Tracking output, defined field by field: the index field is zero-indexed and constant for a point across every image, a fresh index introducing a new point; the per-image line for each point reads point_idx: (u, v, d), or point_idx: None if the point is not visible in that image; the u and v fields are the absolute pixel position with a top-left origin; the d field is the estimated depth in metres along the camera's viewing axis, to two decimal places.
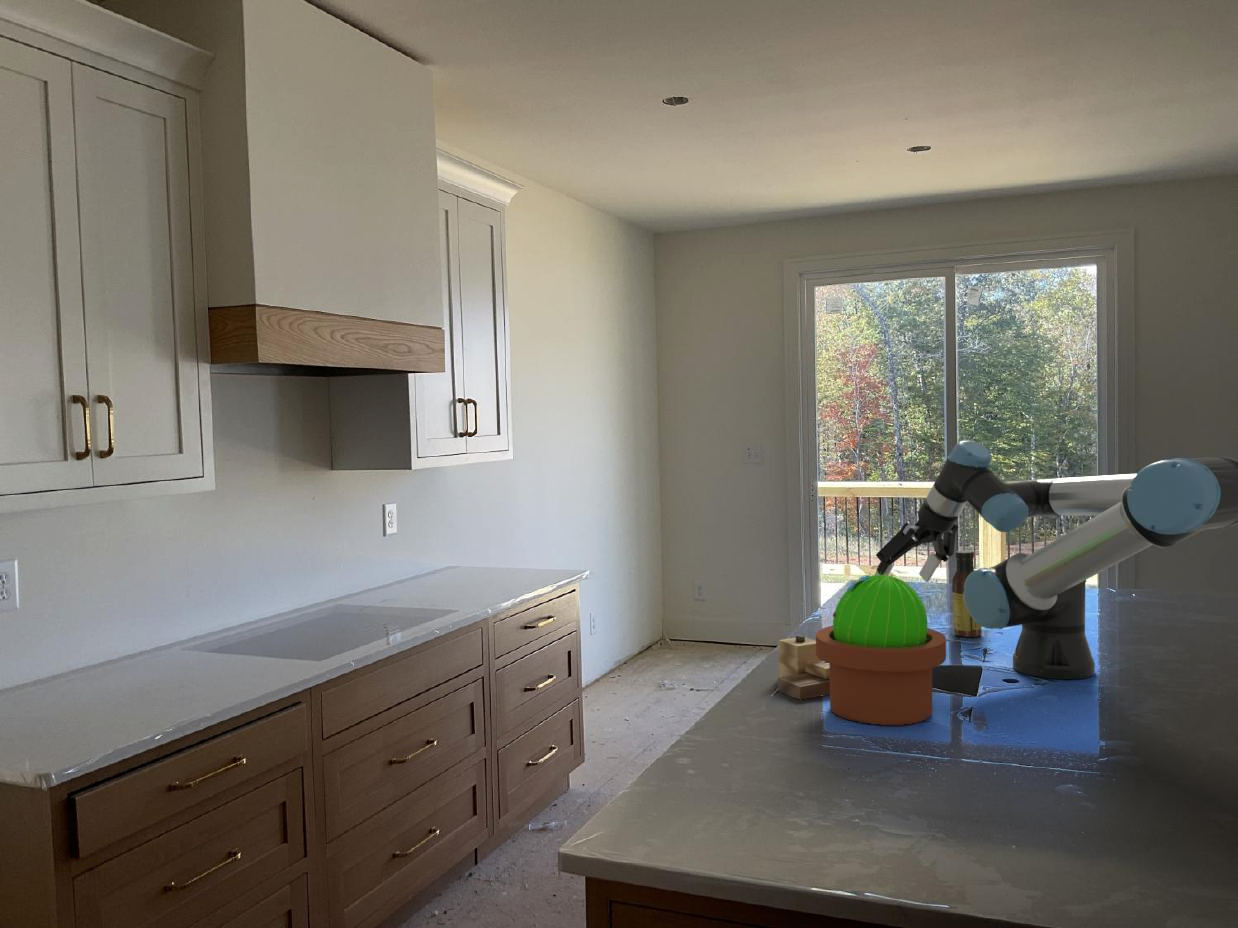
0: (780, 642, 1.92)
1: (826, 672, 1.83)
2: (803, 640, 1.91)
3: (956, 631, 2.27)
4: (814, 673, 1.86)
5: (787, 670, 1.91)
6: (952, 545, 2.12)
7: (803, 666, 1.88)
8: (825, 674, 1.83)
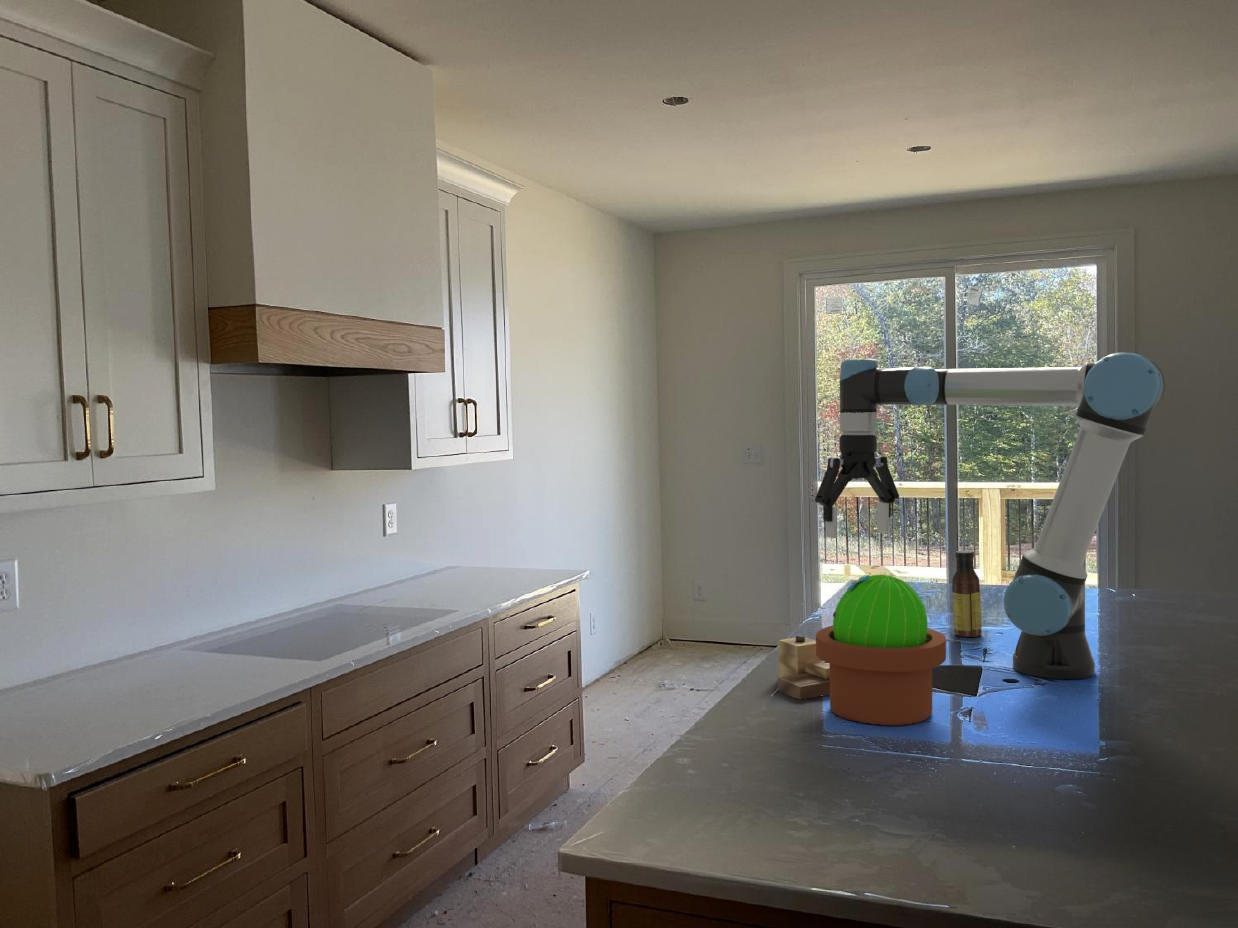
0: (780, 642, 1.92)
1: (826, 672, 1.83)
2: (803, 640, 1.91)
3: (956, 631, 2.27)
4: (814, 673, 1.86)
5: (787, 670, 1.91)
6: (892, 483, 2.05)
7: (803, 666, 1.88)
8: (825, 675, 1.83)
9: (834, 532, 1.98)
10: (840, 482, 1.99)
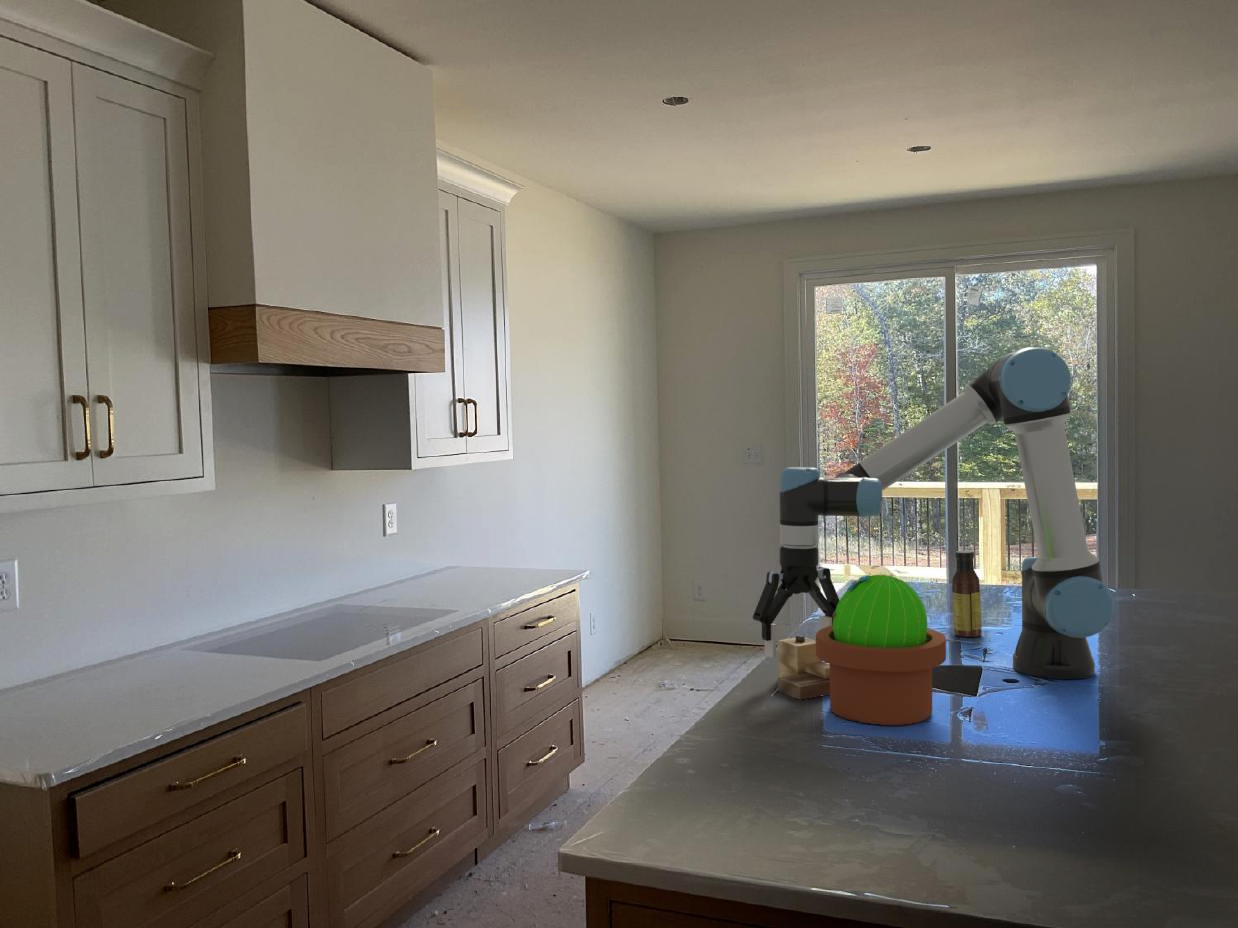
0: (780, 642, 1.92)
1: (826, 672, 1.83)
2: (803, 640, 1.91)
3: (956, 631, 2.27)
4: (814, 673, 1.86)
5: (787, 670, 1.91)
6: (835, 596, 1.94)
7: (803, 666, 1.88)
8: (825, 674, 1.83)
9: (773, 652, 1.87)
10: (779, 598, 1.88)
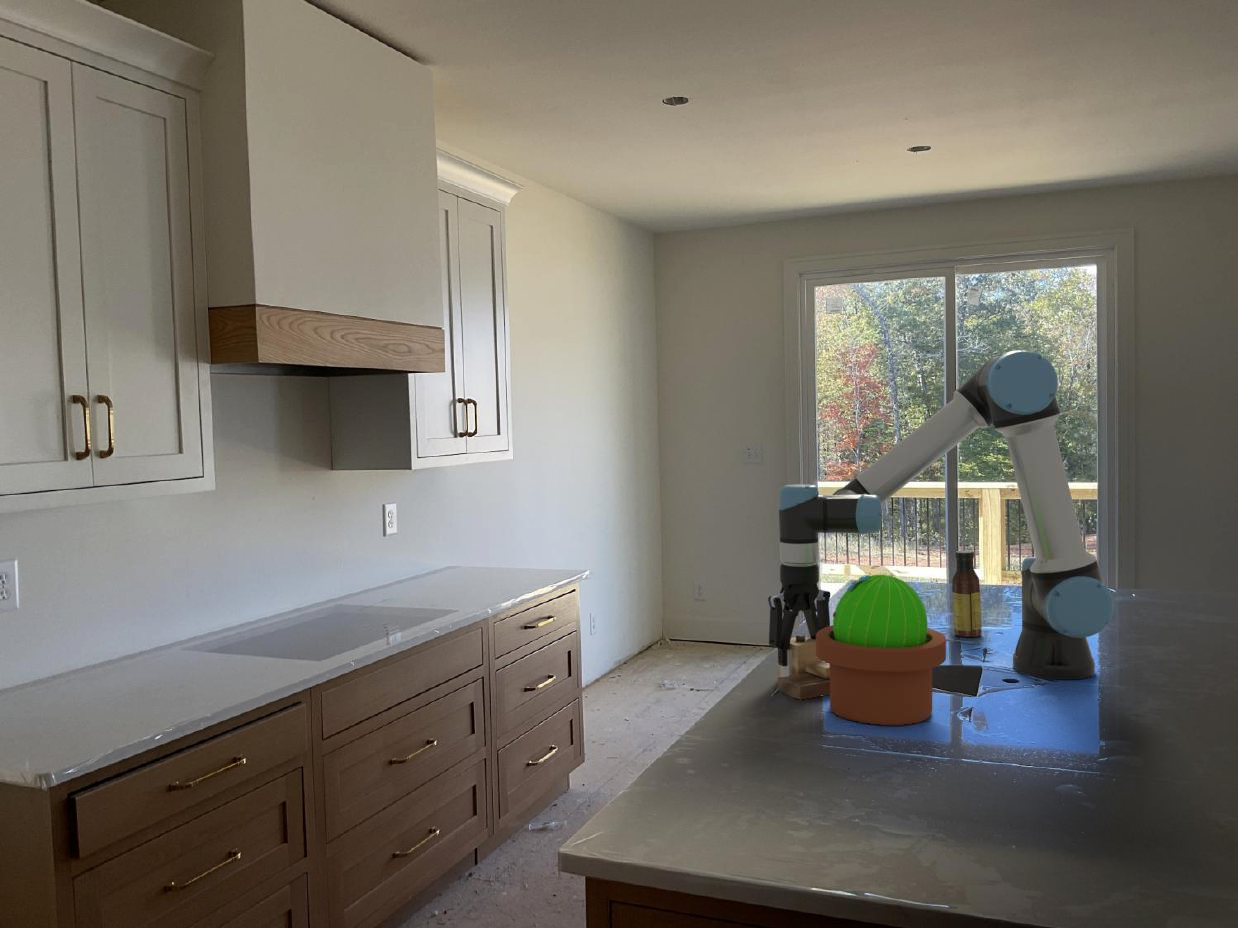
0: None
1: (826, 672, 1.83)
2: (803, 640, 1.91)
3: (956, 631, 2.27)
4: (814, 672, 1.86)
5: None
6: (827, 622, 1.93)
7: (803, 665, 1.88)
8: (825, 674, 1.83)
9: None
10: (787, 621, 1.89)
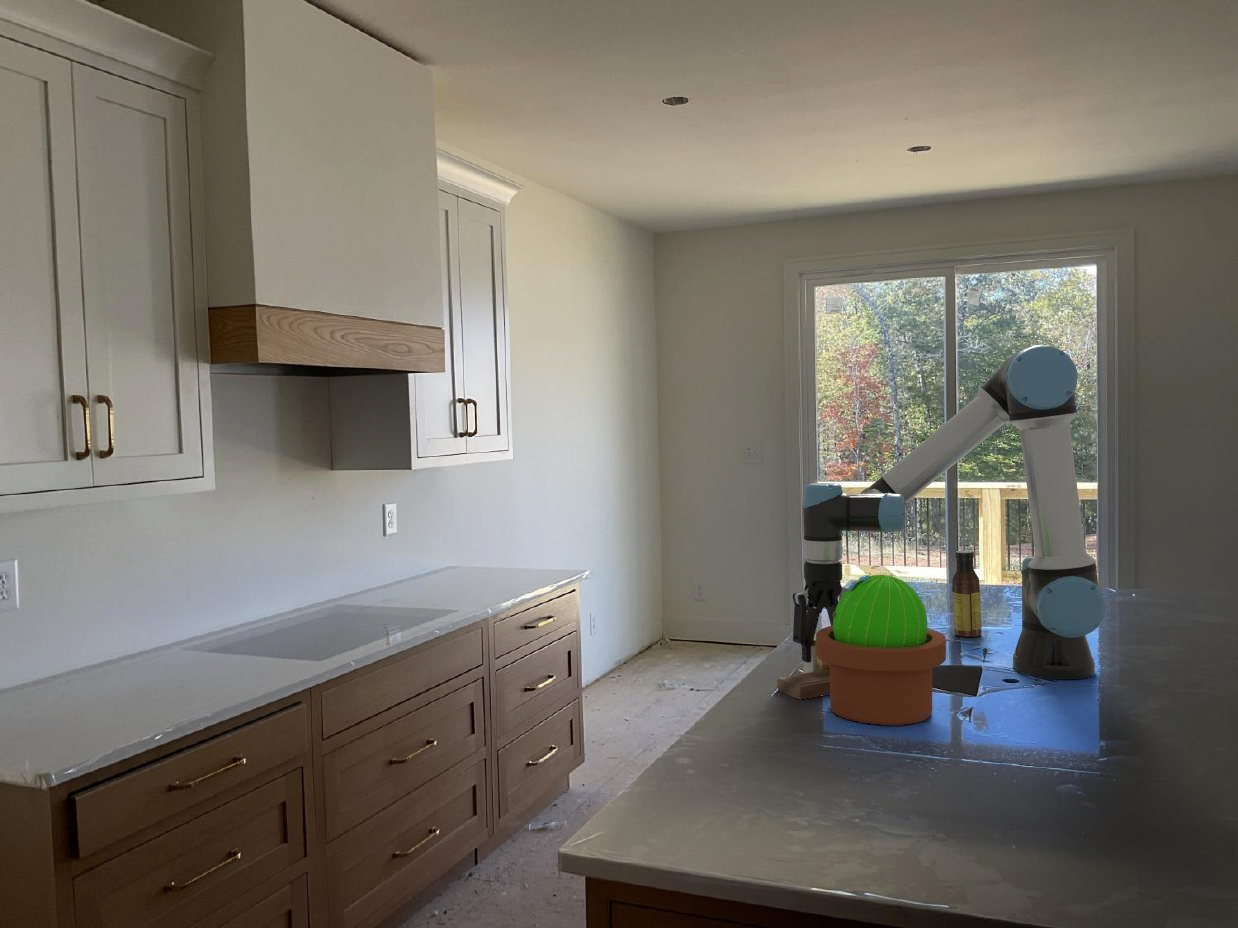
0: None
1: None
2: None
3: (956, 631, 2.27)
4: None
5: None
6: None
7: None
8: None
9: None
10: (811, 618, 1.92)
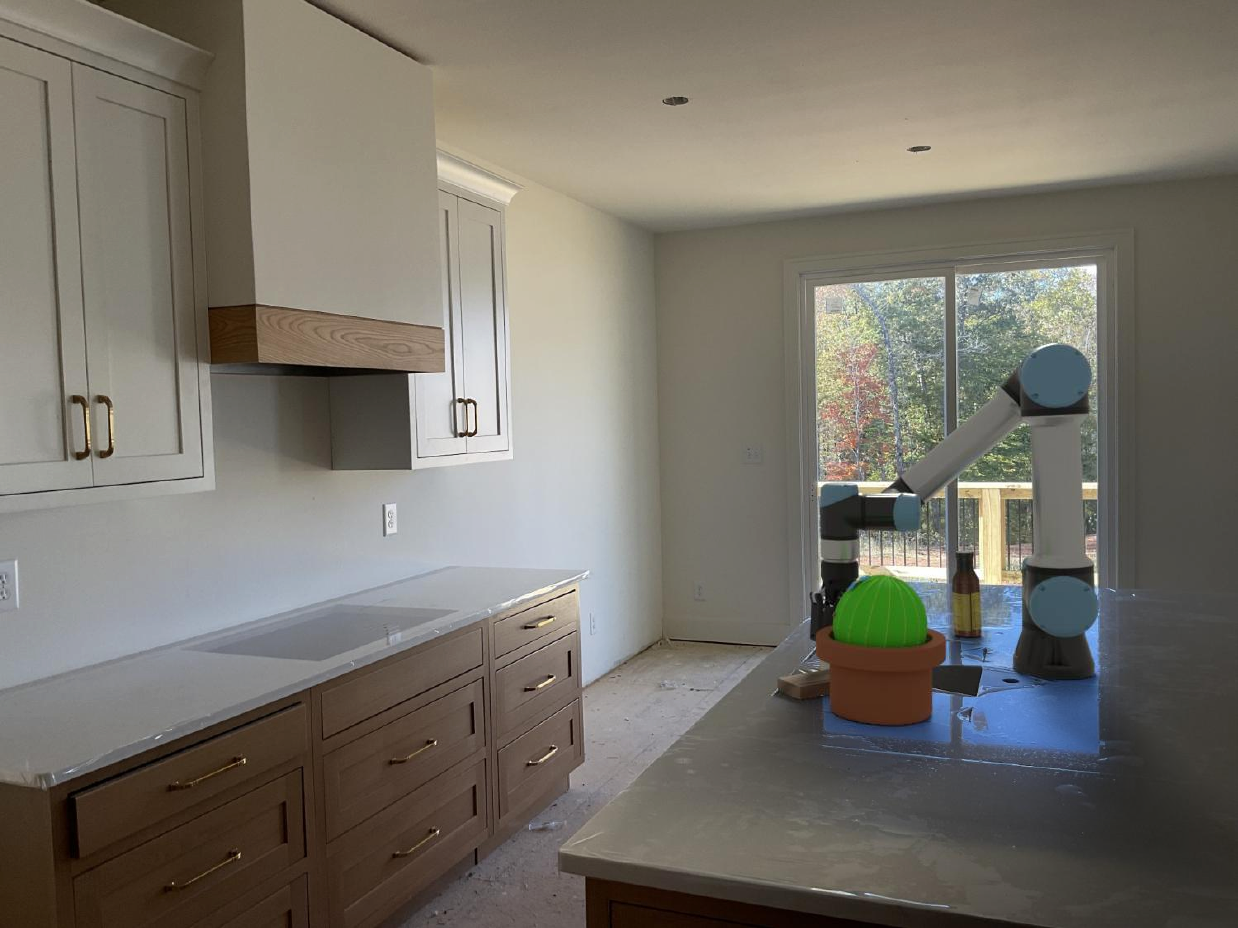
0: None
1: None
2: None
3: (956, 631, 2.27)
4: None
5: None
6: None
7: None
8: None
9: None
10: (828, 616, 1.94)
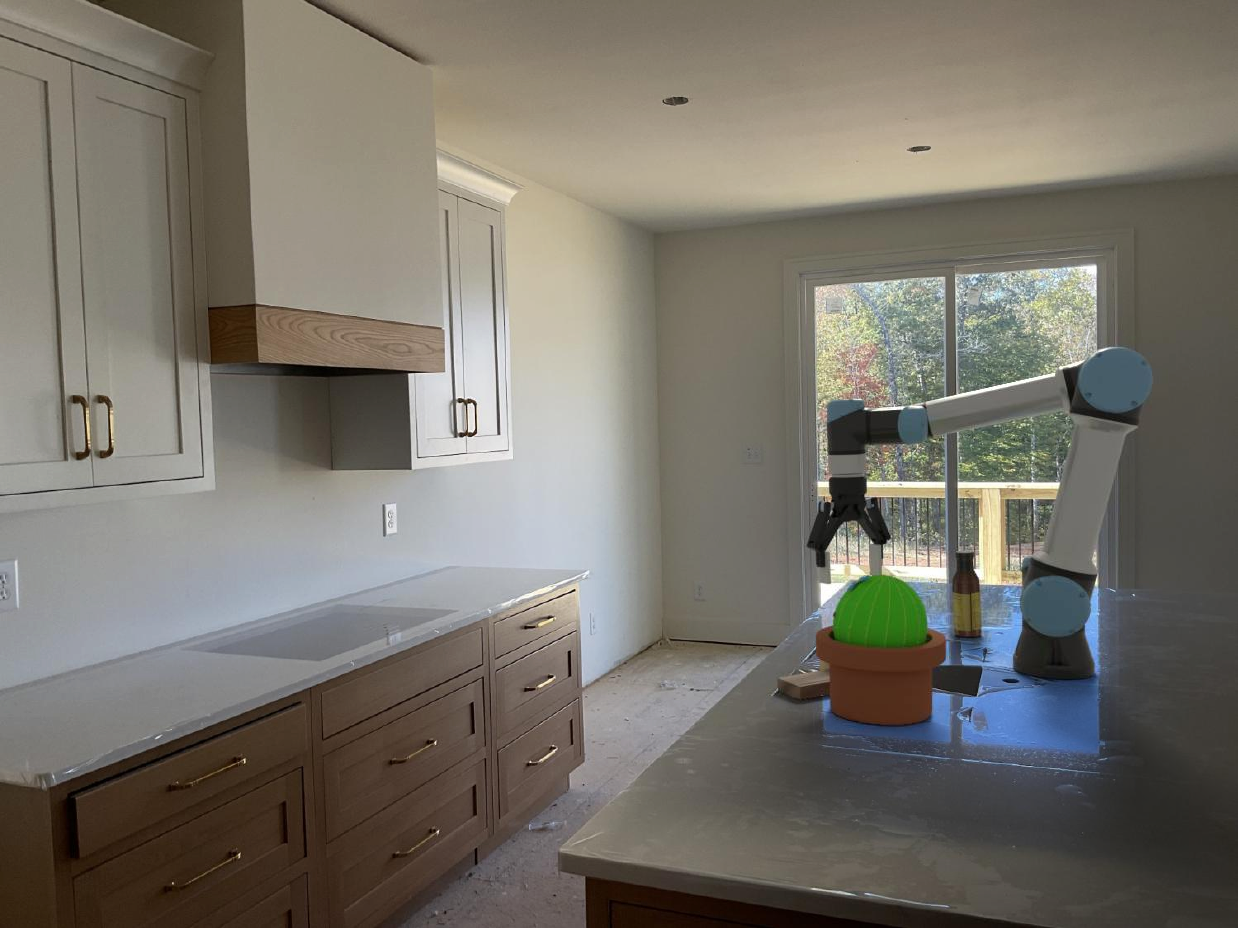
0: None
1: None
2: None
3: (956, 631, 2.27)
4: None
5: (828, 664, 1.95)
6: (883, 524, 2.00)
7: None
8: None
9: (828, 578, 1.93)
10: (832, 526, 1.94)
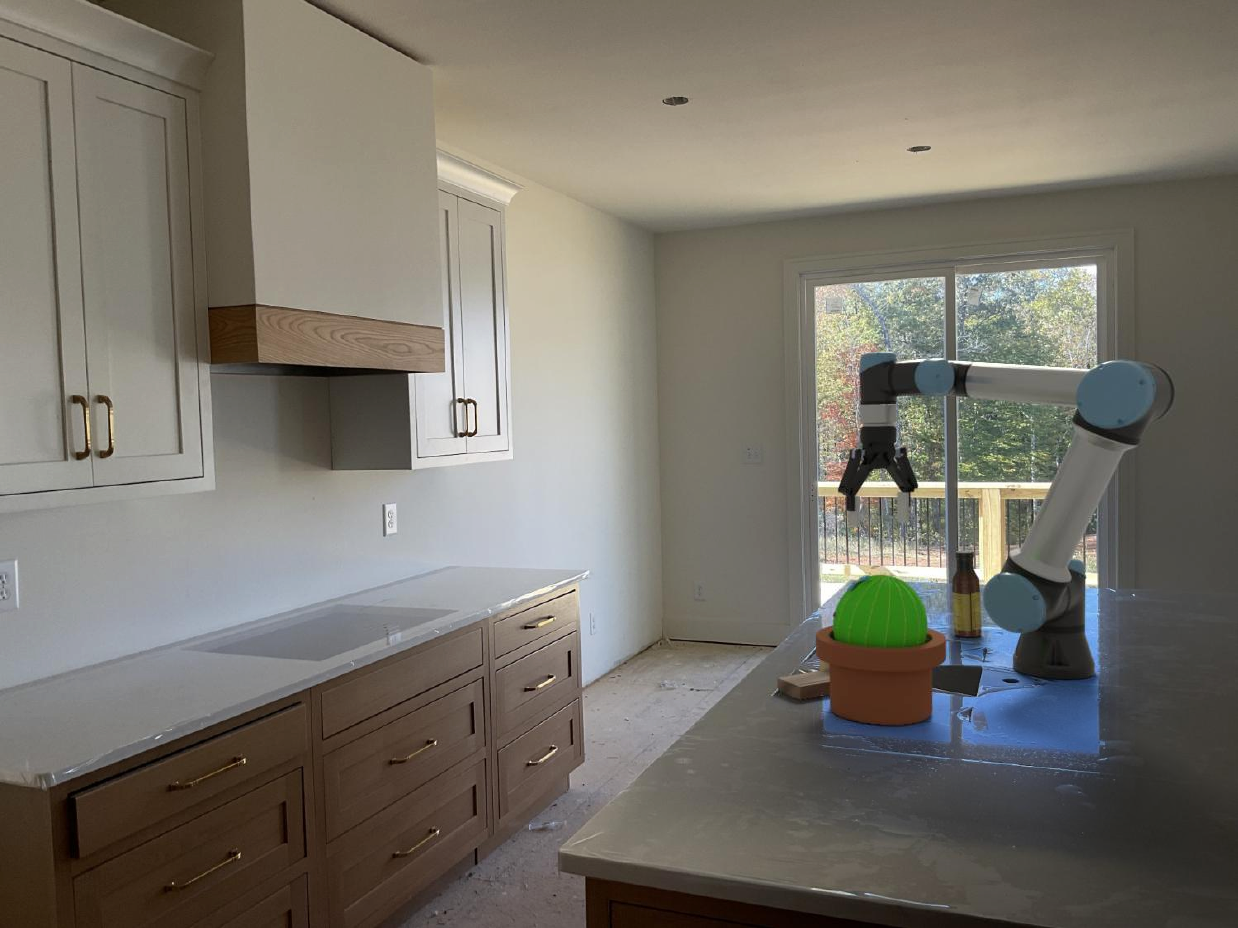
0: None
1: None
2: None
3: (956, 631, 2.27)
4: None
5: (828, 664, 1.95)
6: (911, 473, 2.10)
7: None
8: None
9: (857, 521, 2.03)
10: (862, 472, 2.04)
